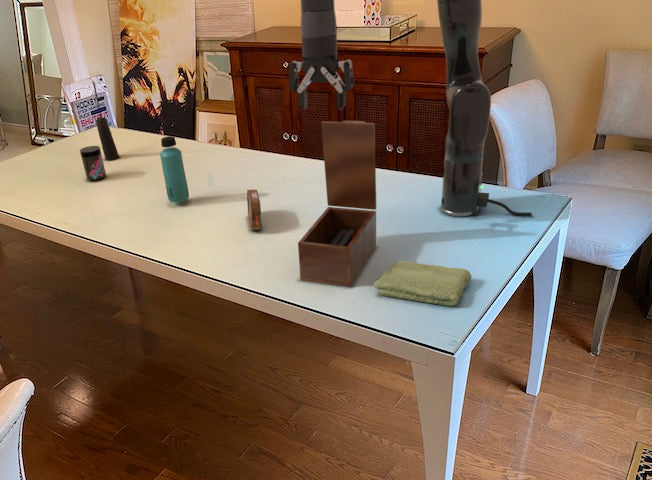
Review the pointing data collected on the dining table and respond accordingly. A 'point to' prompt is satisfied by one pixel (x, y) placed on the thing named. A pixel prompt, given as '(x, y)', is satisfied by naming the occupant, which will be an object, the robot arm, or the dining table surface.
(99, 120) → the butter churn
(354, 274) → the chest
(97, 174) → the supplement container
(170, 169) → the beverage bottle
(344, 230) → the dark grey long block
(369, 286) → the dining table surface
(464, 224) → the dining table surface
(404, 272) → the washcloth
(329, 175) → the lid
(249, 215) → the tin
